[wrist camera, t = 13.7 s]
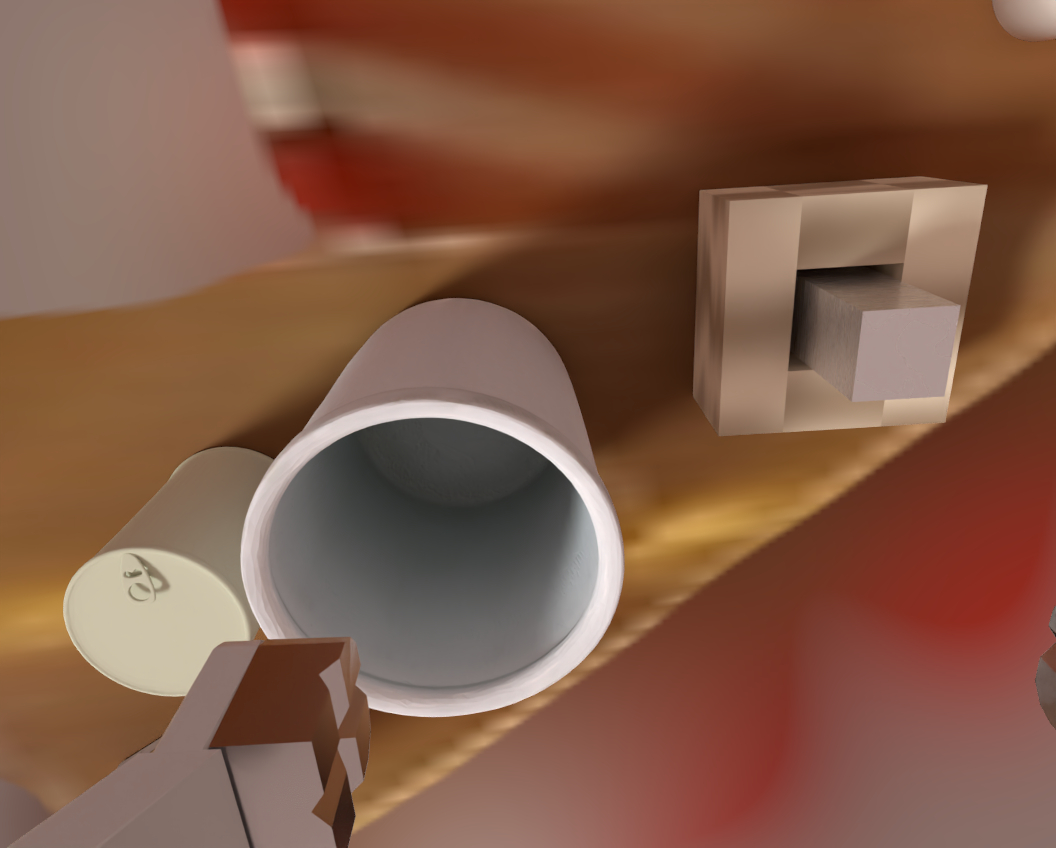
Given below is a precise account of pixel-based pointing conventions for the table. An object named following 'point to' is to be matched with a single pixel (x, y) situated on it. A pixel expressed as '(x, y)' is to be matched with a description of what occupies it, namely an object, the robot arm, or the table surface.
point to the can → (170, 578)
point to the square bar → (872, 333)
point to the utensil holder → (441, 517)
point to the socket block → (769, 286)
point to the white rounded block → (1027, 18)
